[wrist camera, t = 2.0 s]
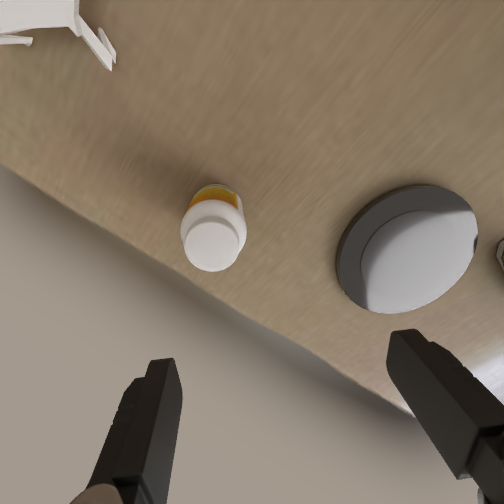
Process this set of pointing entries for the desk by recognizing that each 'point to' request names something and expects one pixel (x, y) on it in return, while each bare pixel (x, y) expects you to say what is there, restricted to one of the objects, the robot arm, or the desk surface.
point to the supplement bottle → (213, 228)
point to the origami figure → (51, 24)
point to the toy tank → (500, 253)
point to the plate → (406, 249)
